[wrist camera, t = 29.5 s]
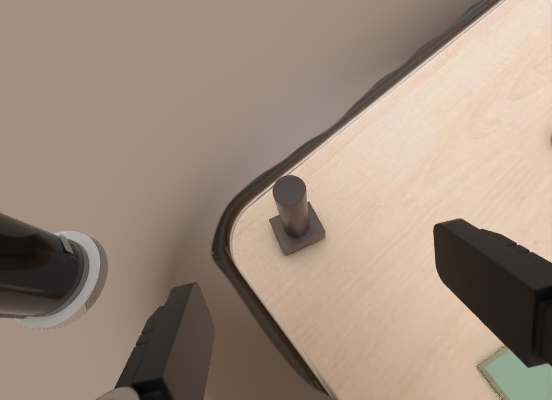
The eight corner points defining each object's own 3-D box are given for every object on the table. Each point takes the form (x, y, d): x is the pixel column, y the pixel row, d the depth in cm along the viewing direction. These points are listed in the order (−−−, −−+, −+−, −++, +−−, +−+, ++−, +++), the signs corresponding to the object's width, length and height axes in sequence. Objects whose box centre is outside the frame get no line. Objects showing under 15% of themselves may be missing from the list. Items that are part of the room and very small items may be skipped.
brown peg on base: (285, 257, 34) (271, 222, 24) (272, 227, 36) (253, 182, 26) (325, 239, 35) (327, 196, 24) (309, 210, 37) (305, 159, 26)
